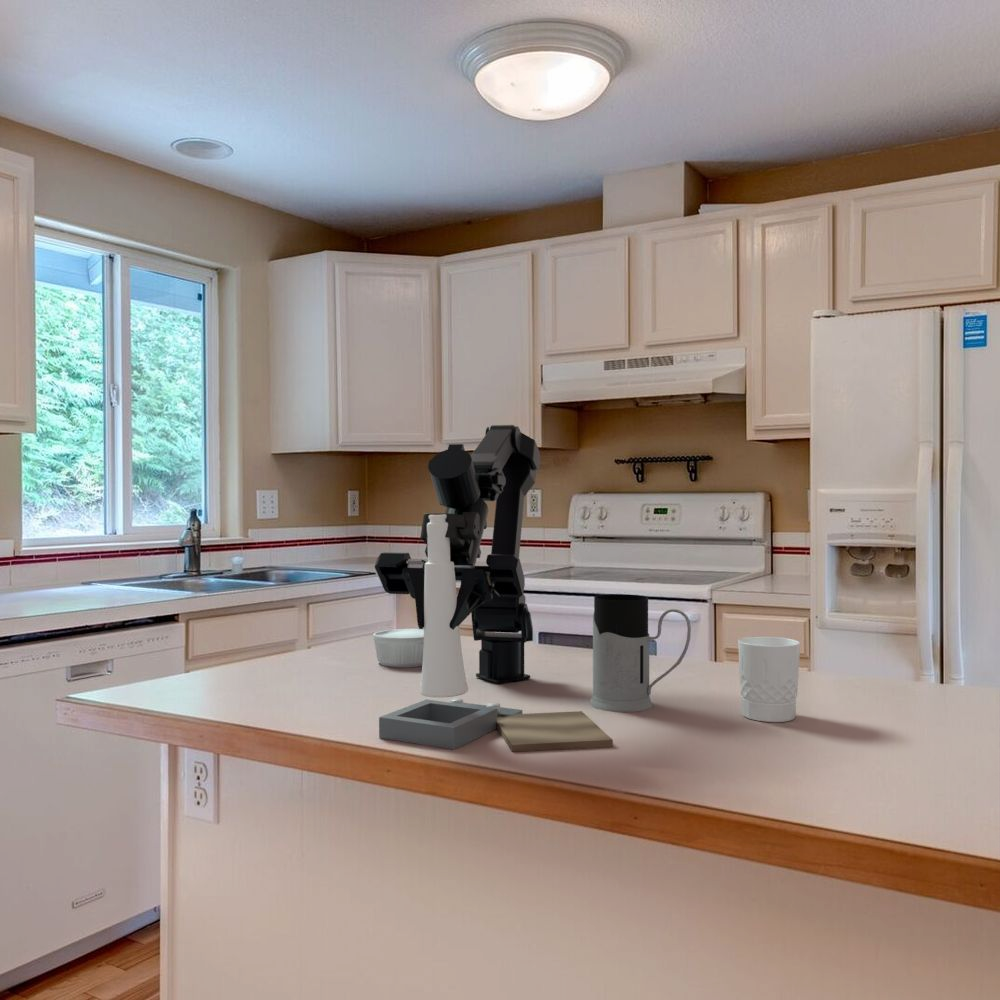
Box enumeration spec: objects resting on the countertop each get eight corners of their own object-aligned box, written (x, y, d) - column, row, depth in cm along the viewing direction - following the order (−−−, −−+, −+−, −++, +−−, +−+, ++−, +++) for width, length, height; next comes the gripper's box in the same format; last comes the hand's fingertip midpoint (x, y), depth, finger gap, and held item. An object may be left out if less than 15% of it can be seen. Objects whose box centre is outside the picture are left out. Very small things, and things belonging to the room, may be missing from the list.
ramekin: (382, 656, 166) (382, 627, 166) (443, 657, 165) (443, 628, 165) (365, 668, 155) (365, 637, 155) (430, 670, 154) (429, 638, 154)
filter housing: (454, 707, 127) (453, 689, 127) (522, 716, 122) (522, 697, 122) (379, 737, 112) (379, 717, 112) (453, 749, 107) (453, 727, 107)
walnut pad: (492, 721, 120) (492, 715, 120) (581, 717, 122) (581, 711, 122) (511, 751, 106) (511, 744, 106) (612, 746, 108) (612, 739, 108)
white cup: (767, 726, 117) (767, 648, 117) (725, 713, 124) (725, 639, 124) (813, 719, 120) (813, 643, 120) (769, 706, 127) (769, 634, 127)
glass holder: (602, 694, 135) (602, 592, 135) (698, 704, 129) (698, 597, 128) (580, 707, 127) (580, 599, 127) (681, 718, 121) (682, 604, 121)
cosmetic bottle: (426, 700, 110) (420, 516, 110) (414, 690, 116) (407, 515, 115) (474, 694, 112) (468, 514, 112) (459, 685, 118) (453, 513, 118)
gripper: (379, 490, 120) (345, 584, 109) (519, 490, 115) (497, 588, 105) (401, 546, 127) (371, 639, 117) (532, 548, 123) (514, 645, 112)
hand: (435, 627), depth 113 cm, fingers closed on cosmetic bottle, 4 cm apart
